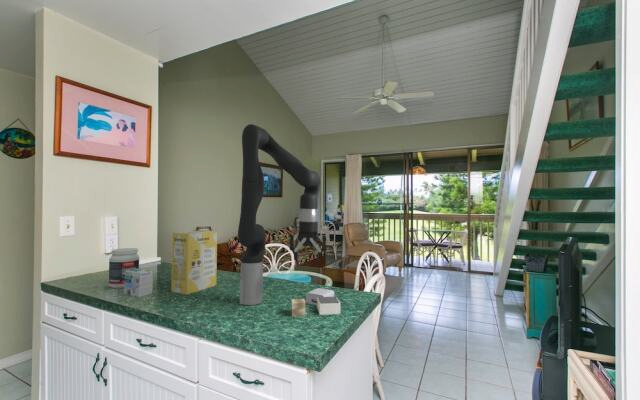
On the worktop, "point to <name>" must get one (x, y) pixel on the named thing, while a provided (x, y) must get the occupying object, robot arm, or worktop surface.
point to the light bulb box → (138, 282)
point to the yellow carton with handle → (193, 261)
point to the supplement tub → (122, 265)
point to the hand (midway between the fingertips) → (307, 261)
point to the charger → (318, 295)
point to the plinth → (328, 305)
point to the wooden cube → (298, 307)
